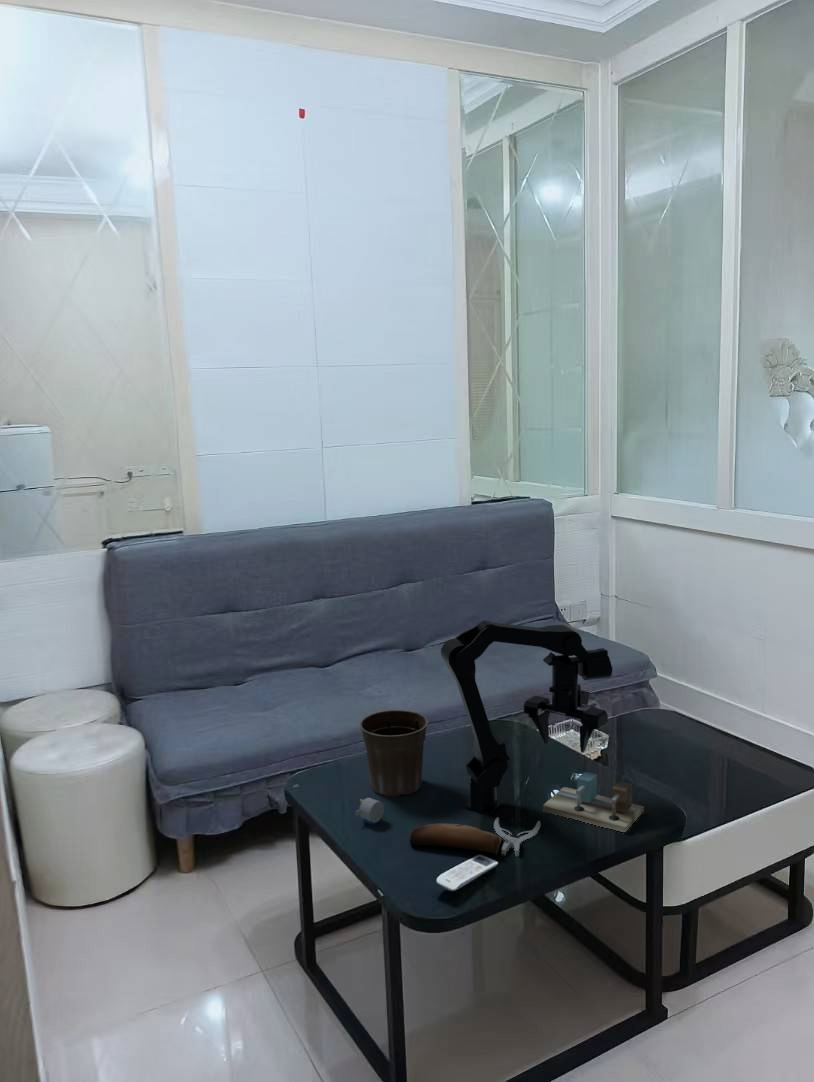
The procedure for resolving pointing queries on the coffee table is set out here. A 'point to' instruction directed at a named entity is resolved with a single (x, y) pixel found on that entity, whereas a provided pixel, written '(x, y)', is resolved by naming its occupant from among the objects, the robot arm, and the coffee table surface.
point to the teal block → (586, 787)
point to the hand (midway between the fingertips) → (564, 747)
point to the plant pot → (394, 750)
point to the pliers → (511, 840)
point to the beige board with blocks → (598, 807)
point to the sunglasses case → (456, 837)
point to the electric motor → (370, 810)
